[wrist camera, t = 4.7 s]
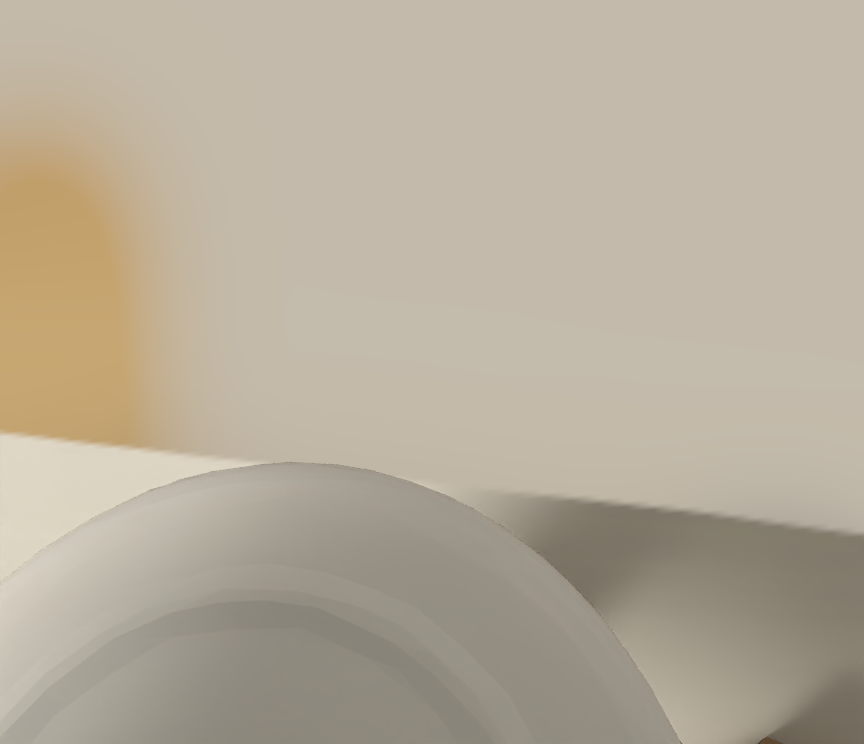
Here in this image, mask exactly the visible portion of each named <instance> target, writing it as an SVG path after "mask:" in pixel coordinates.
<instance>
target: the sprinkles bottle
mask: <svg viewBox="0 0 864 744" xmlns="http://www.w3.org/2000/svg"><path fill="white" fill-rule="evenodd" d="M0 744H681V743H680V741H679V739H678V737H677V735H676V733H675V731H674V730H673V728H672V726H671V724H670V722H669V720H668V718H667V717H666V715H665V713H664V711H663V709H662V707H661V705H660V704H659V702H658V700H657V698H656V696H655V694H654V692H653V691H652V689H651V687H650V686H649V684H648V683H647V681H646V679H645V678H644V676H643V675H642V673H641V672H640V670H639V669H638V667H637V666H636V664H635V663H634V661H633V660H632V658H631V657H630V655H629V654H628V652H627V651H626V649H625V648H624V647H623V645H622V644H621V643H620V641H619V640H618V638H617V637H616V636H615V634H614V633H613V631H612V630H611V629H610V627H609V626H608V625H607V623H606V622H605V620H604V619H603V618H602V617H601V616H600V615H599V614H598V612H597V611H596V610H595V609H594V608H593V607H592V606H591V605H590V604H589V603H588V602H587V601H586V599H585V598H584V597H583V596H582V595H581V594H580V593H579V592H578V591H577V590H576V589H575V587H574V586H573V585H572V584H571V583H570V582H568V581H567V580H566V579H565V578H564V577H563V576H562V575H561V574H560V573H559V572H558V571H557V570H556V569H555V568H554V567H553V566H552V565H551V564H550V563H549V562H548V561H546V560H545V559H544V558H543V557H542V556H540V555H539V554H538V553H536V552H535V551H534V550H533V549H531V548H530V547H529V546H527V545H526V544H525V543H523V542H522V541H521V540H519V539H518V538H517V537H516V536H514V535H513V534H512V533H510V532H509V531H508V530H506V529H505V528H504V527H503V526H501V525H500V524H498V523H496V522H495V521H493V520H491V519H490V518H488V517H486V516H484V515H483V514H481V513H479V512H478V511H476V510H474V509H473V508H471V507H469V506H467V505H465V504H463V503H461V502H459V501H457V500H455V499H453V498H451V497H449V496H446V495H444V494H441V493H439V492H436V491H433V490H431V489H428V488H426V487H423V486H421V485H418V484H416V483H413V482H410V481H407V480H403V479H400V478H396V477H393V476H389V475H386V474H382V473H379V472H375V471H372V470H367V469H360V468H355V467H348V466H343V465H334V464H316V463H297V462H284V463H273V464H261V465H254V466H247V467H240V468H233V469H226V470H219V471H212V472H209V473H205V474H201V475H197V476H193V477H189V478H185V479H181V480H178V481H175V482H173V483H170V484H168V485H165V486H162V487H158V488H155V489H151V490H149V491H147V492H145V493H143V494H141V495H139V496H137V497H134V498H132V499H130V500H128V501H126V502H124V503H122V504H120V505H118V506H116V507H114V508H112V509H110V510H108V511H106V512H104V513H101V514H99V515H97V516H95V517H93V518H92V519H90V520H88V521H87V522H85V523H84V524H82V525H80V526H79V527H77V528H76V529H74V530H72V531H71V532H69V533H68V534H66V535H64V536H63V537H61V538H60V539H58V540H56V541H55V542H53V543H52V544H50V545H48V546H47V547H45V548H44V549H42V550H40V551H39V552H38V553H37V554H35V555H34V556H33V557H32V558H30V559H29V560H28V561H27V562H25V563H24V564H23V565H22V566H21V567H19V568H18V569H17V570H16V571H14V572H13V573H12V574H11V575H9V576H8V577H7V578H6V579H4V580H3V581H2V582H1V583H0Z"/></svg>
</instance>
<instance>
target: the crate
mask: <svg viewBox="0 0 864 744" xmlns="http://www.w3.org/2000/svg"><path fill="white" fill-rule="evenodd" d="M759 744H783V743H780V742H778V741H775V740H772V739H770V738H767V737H766V738H765V739H763V740H762V741H761V742H760V743H759Z"/></svg>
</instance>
